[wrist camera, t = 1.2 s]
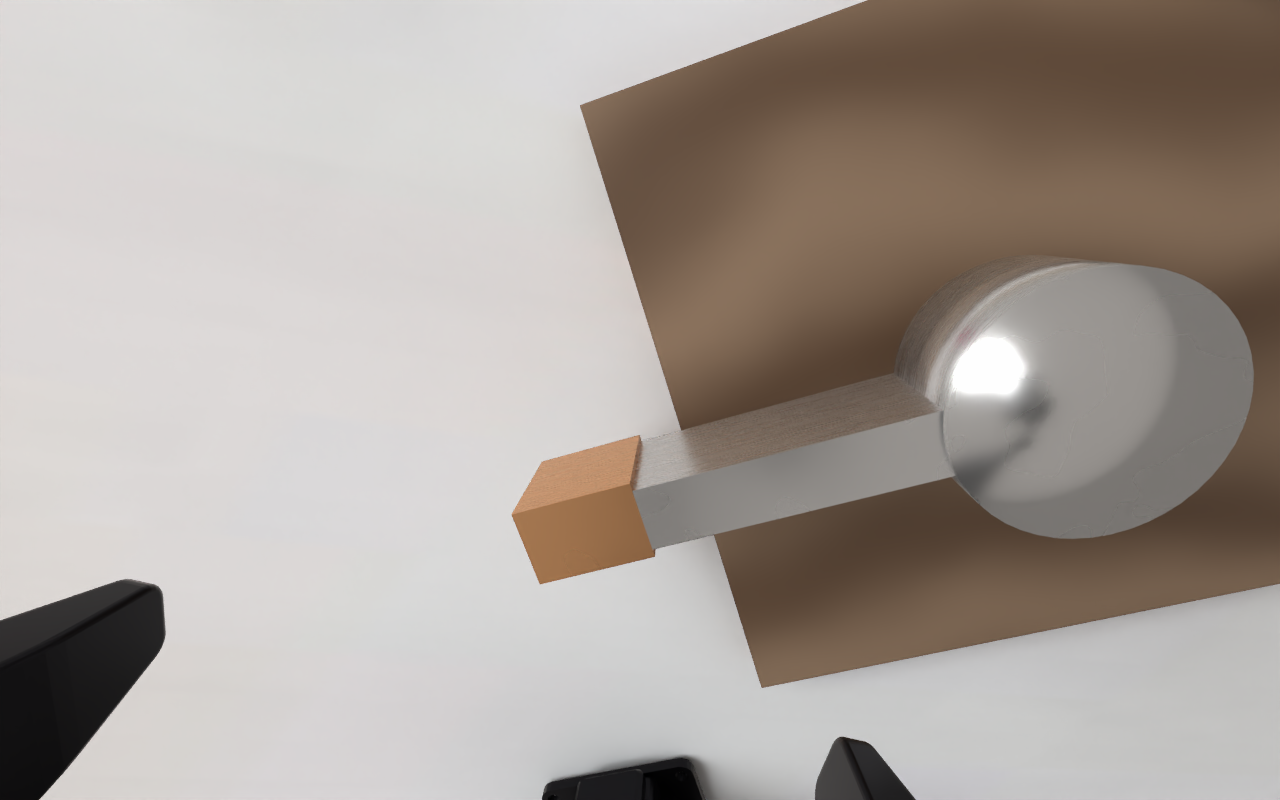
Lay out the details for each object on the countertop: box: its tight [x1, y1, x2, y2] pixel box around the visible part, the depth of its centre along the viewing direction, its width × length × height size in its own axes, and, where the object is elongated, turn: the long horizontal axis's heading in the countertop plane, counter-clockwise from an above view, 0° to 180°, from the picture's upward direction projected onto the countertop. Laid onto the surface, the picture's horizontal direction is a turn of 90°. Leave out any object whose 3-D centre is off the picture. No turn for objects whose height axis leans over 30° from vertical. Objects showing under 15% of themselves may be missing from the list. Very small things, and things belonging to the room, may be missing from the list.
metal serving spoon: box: [512, 255, 1254, 584], centre depth 15 cm, size 16×6×4 cm, turn 108°
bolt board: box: [580, 0, 1280, 688], centre depth 16 cm, size 20×18×6 cm
